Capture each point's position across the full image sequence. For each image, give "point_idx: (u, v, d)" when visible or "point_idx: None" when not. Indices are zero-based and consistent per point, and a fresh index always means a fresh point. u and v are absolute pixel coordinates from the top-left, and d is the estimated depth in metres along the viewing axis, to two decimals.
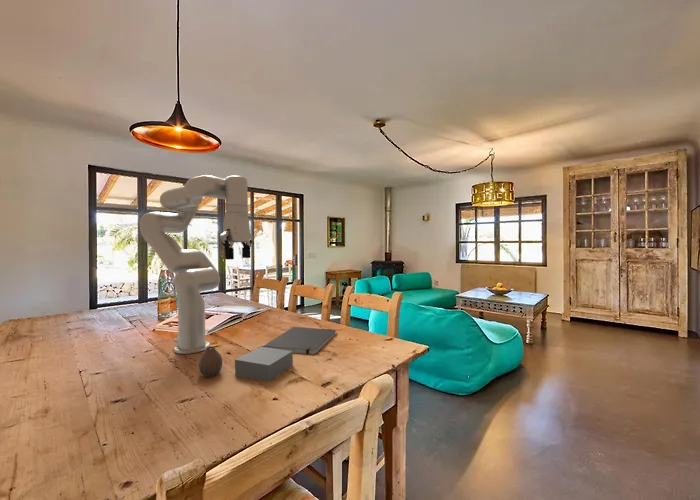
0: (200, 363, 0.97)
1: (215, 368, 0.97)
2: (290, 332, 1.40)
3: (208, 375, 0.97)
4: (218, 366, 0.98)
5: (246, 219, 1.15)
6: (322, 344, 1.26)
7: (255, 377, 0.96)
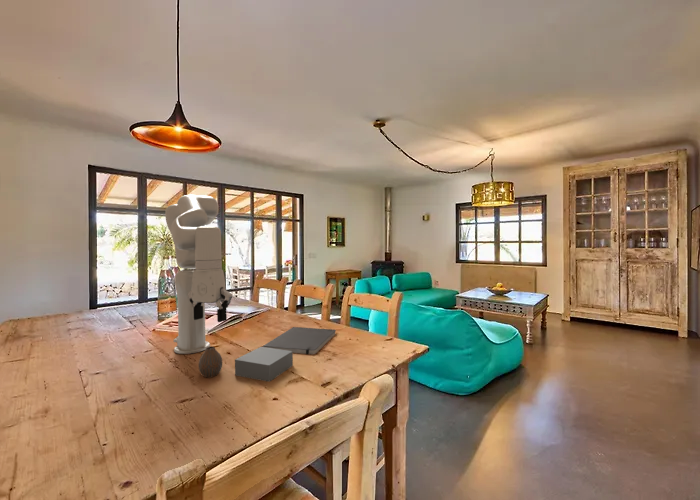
0: (200, 363, 0.97)
1: (215, 368, 0.97)
2: (290, 332, 1.40)
3: (208, 375, 0.97)
4: (218, 366, 0.98)
5: None
6: (322, 344, 1.26)
7: (255, 377, 0.96)
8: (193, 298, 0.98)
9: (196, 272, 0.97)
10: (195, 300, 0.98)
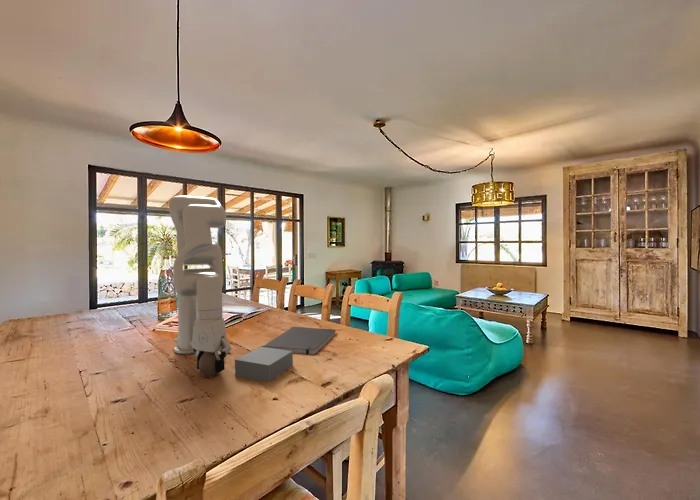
0: (200, 363, 0.97)
1: None
2: (290, 332, 1.40)
3: (208, 375, 0.97)
4: None
5: None
6: (322, 344, 1.26)
7: (255, 377, 0.96)
8: (194, 346, 0.99)
9: (197, 321, 0.98)
10: (196, 348, 0.98)
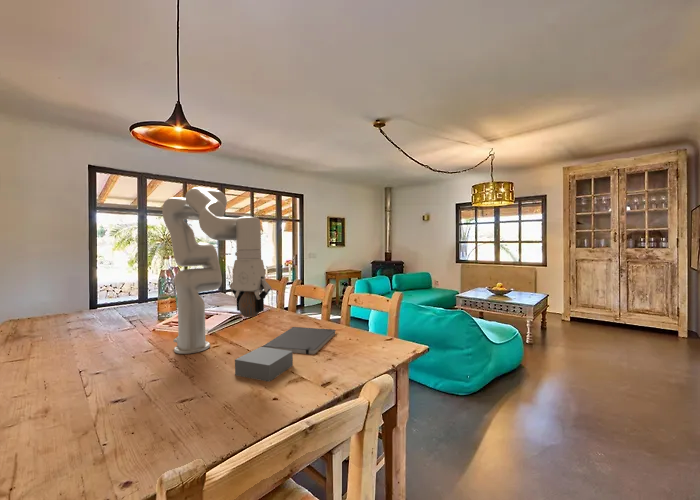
0: (240, 302, 0.99)
1: (255, 307, 0.99)
2: (290, 332, 1.40)
3: (248, 314, 0.99)
4: None
5: None
6: (322, 344, 1.26)
7: (255, 377, 0.96)
8: (234, 287, 1.00)
9: (237, 261, 1.00)
10: (236, 289, 1.00)
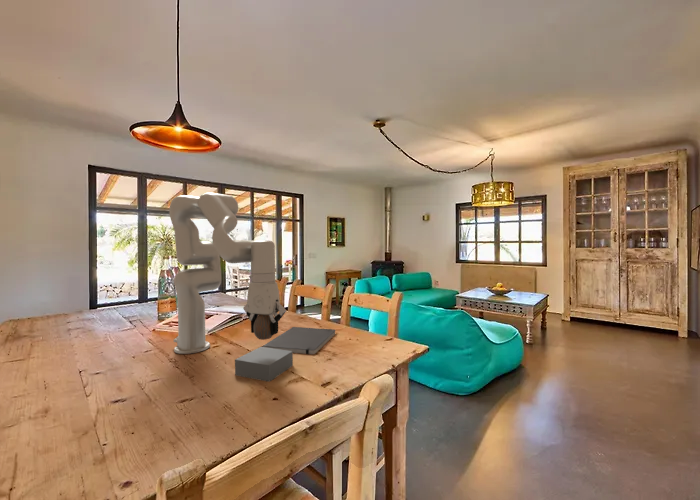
0: (255, 325, 1.00)
1: None
2: (290, 332, 1.40)
3: (263, 337, 1.00)
4: None
5: None
6: (322, 344, 1.26)
7: (255, 377, 0.96)
8: (249, 310, 1.01)
9: (252, 285, 1.01)
10: (251, 312, 1.01)
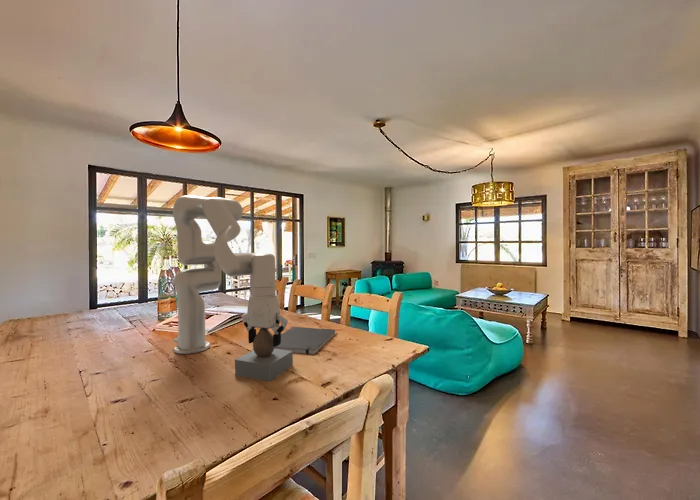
0: (255, 343, 1.00)
1: (269, 348, 1.01)
2: (290, 332, 1.40)
3: (263, 355, 1.00)
4: (272, 346, 1.01)
5: None
6: (322, 344, 1.26)
7: (255, 377, 0.96)
8: (249, 323, 1.02)
9: (252, 298, 1.01)
10: (251, 325, 1.01)
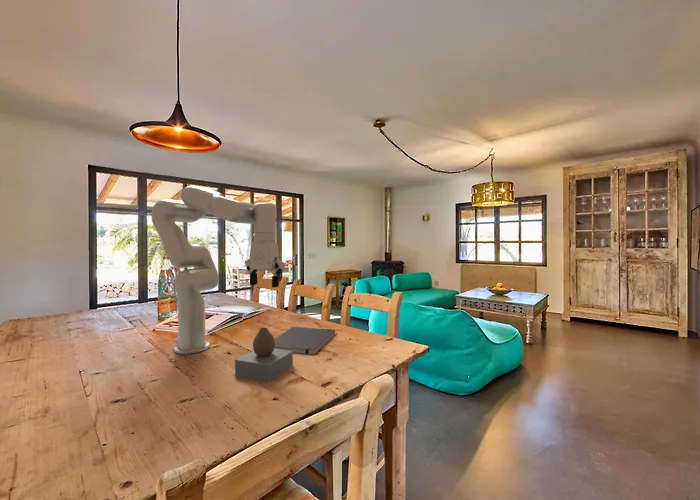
0: (255, 343, 1.00)
1: (269, 347, 1.01)
2: (290, 332, 1.40)
3: (263, 355, 1.00)
4: (272, 346, 1.01)
5: None
6: (322, 344, 1.26)
7: (255, 377, 0.96)
8: (250, 266, 1.11)
9: (254, 243, 1.11)
10: (252, 267, 1.11)
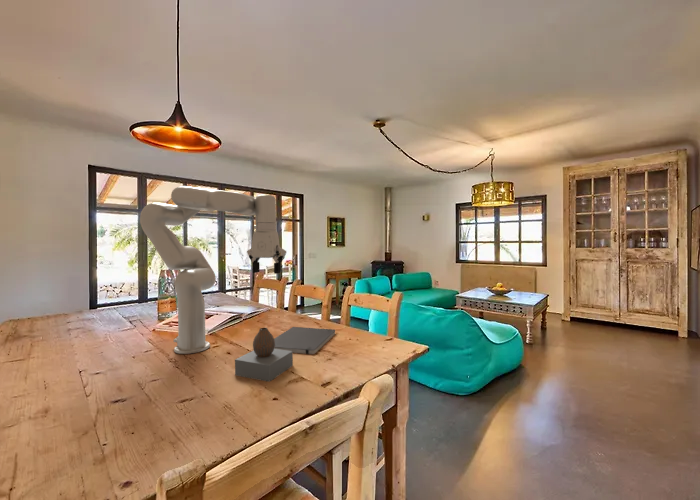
0: (255, 343, 1.00)
1: (269, 348, 1.01)
2: (290, 332, 1.40)
3: (263, 355, 1.00)
4: (272, 346, 1.01)
5: None
6: (322, 344, 1.26)
7: (255, 377, 0.96)
8: (253, 254, 1.19)
9: (256, 232, 1.18)
10: (255, 256, 1.18)
